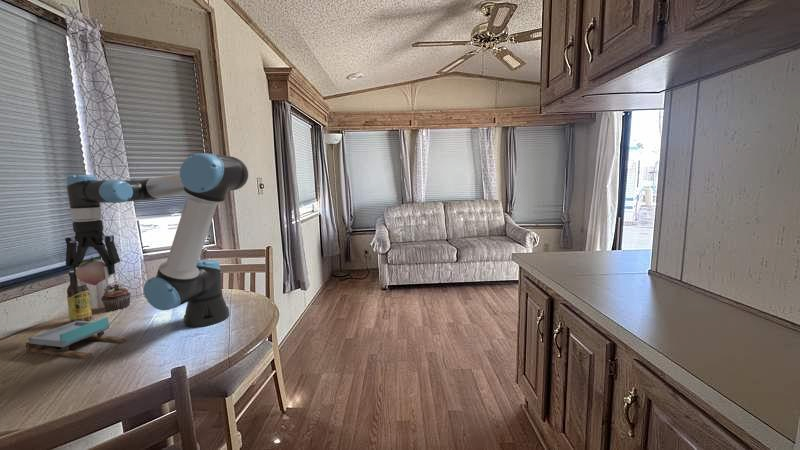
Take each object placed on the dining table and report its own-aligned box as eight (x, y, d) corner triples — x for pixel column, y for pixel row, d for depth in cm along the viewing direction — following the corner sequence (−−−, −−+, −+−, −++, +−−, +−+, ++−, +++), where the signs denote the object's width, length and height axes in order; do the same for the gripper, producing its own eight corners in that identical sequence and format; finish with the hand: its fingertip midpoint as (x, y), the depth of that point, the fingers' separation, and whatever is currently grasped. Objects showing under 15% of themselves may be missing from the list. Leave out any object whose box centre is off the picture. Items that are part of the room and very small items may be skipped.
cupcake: (136, 305, 143) (134, 283, 142) (109, 313, 134) (106, 289, 133) (125, 302, 147) (122, 280, 146) (97, 309, 139) (94, 287, 137)
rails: (126, 340, 110) (125, 331, 110) (86, 359, 98) (84, 349, 98) (71, 334, 115) (70, 326, 115) (26, 352, 104) (25, 343, 103)
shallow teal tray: (110, 334, 112) (107, 317, 111) (64, 353, 99) (61, 334, 99) (78, 331, 115) (76, 314, 114) (30, 349, 102) (27, 331, 102)
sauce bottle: (78, 325, 123) (70, 273, 121) (65, 324, 125) (57, 273, 122) (97, 318, 130) (90, 269, 127) (85, 317, 131) (77, 268, 128)
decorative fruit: (100, 288, 112) (95, 259, 110) (72, 289, 110) (68, 260, 109) (118, 280, 121) (115, 253, 120) (93, 281, 120) (90, 254, 118)
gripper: (128, 218, 118) (136, 279, 120) (63, 219, 115) (72, 282, 118) (112, 220, 110) (121, 285, 113) (42, 222, 108) (53, 289, 111)
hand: (96, 284), depth 116 cm, fingers closed on decorative fruit, 8 cm apart
